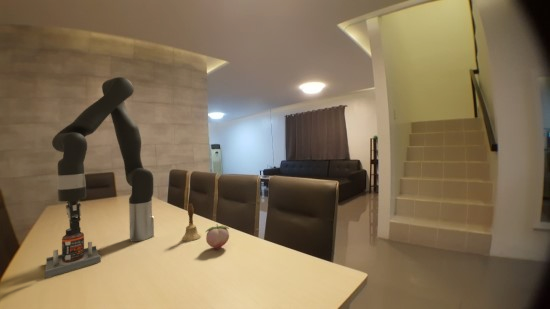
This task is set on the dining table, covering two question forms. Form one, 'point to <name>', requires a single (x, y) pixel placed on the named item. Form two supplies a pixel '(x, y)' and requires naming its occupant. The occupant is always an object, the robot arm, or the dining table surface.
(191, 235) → the hand bell
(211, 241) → the decorative fruit
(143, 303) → the dining table surface
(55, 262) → the pin tray
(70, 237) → the supplement bottle
